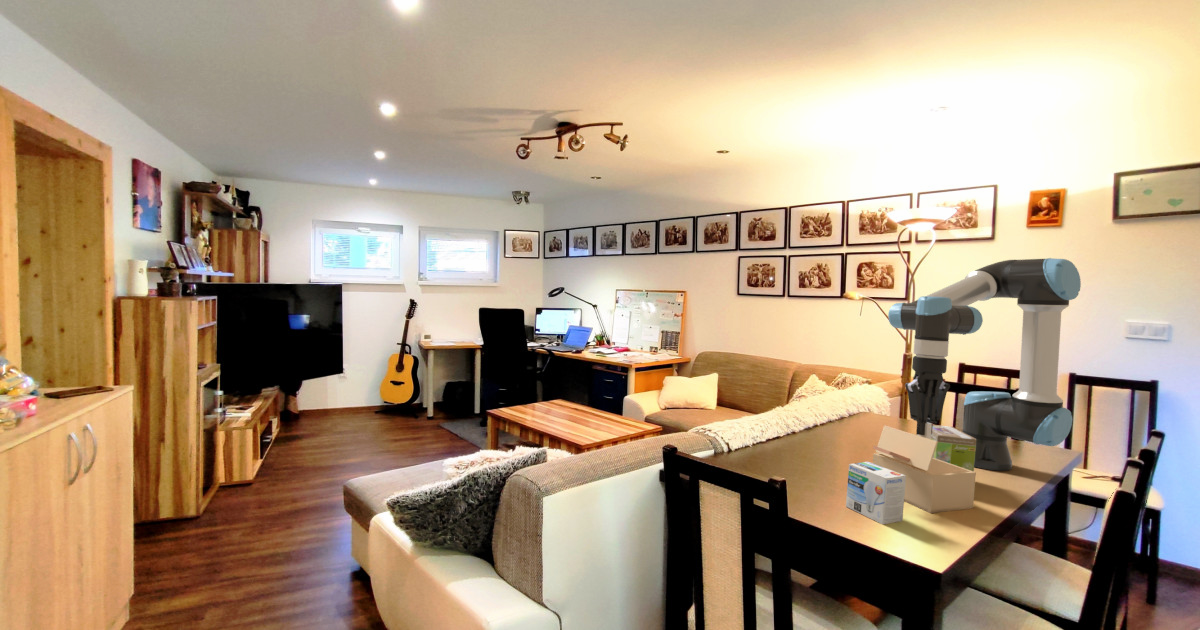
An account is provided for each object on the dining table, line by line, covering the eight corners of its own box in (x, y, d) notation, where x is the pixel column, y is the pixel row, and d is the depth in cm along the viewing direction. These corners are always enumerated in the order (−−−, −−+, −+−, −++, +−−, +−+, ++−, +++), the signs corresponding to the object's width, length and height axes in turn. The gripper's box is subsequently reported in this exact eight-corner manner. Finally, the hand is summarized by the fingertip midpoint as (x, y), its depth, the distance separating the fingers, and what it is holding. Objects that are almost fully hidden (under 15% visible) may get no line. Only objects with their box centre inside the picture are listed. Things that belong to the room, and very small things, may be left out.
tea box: (973, 492, 144) (978, 438, 143) (932, 488, 146) (936, 434, 145) (949, 474, 159) (952, 425, 158) (912, 470, 161) (915, 422, 160)
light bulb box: (844, 506, 130) (847, 463, 130) (864, 503, 133) (867, 460, 132) (883, 525, 120) (886, 478, 120) (904, 521, 123) (907, 475, 122)
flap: (885, 425, 144) (865, 417, 142) (937, 441, 129) (916, 433, 127) (876, 452, 144) (856, 444, 141) (928, 471, 129) (906, 463, 127)
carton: (910, 482, 150) (912, 450, 149) (973, 508, 133) (975, 472, 132) (871, 486, 145) (873, 453, 145) (930, 513, 128) (933, 476, 128)
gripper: (935, 354, 143) (928, 441, 144) (898, 354, 139) (891, 444, 140) (962, 358, 136) (955, 450, 137) (923, 358, 132) (916, 452, 133)
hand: (923, 447), depth 138 cm, fingers closed
